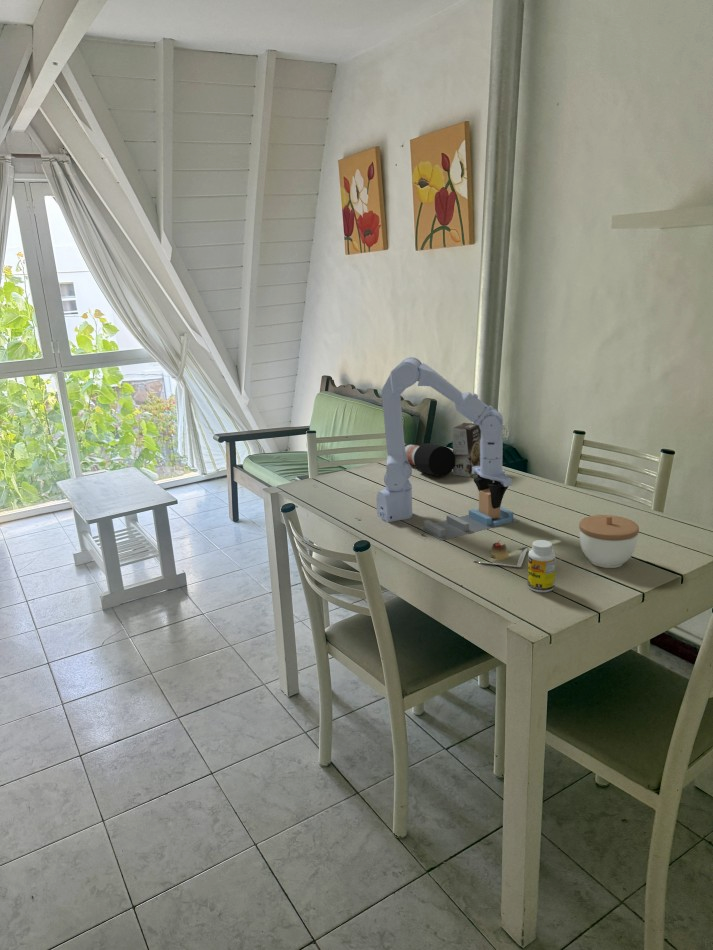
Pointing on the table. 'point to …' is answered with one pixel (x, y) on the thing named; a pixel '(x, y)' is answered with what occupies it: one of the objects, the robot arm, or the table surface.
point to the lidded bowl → (608, 539)
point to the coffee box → (466, 448)
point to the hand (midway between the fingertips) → (490, 505)
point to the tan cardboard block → (487, 504)
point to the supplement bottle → (541, 566)
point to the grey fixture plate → (466, 524)
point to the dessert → (504, 554)
